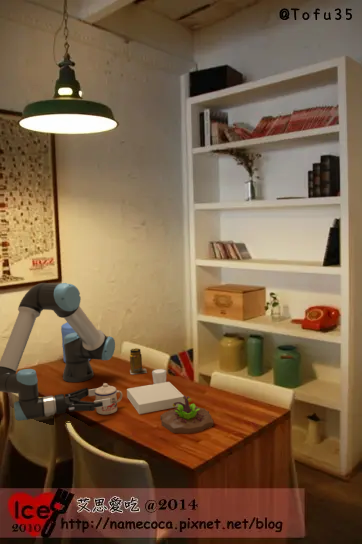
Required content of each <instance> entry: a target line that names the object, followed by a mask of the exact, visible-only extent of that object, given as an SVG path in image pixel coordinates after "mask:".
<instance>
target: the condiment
mask: <svg viewBox="0 0 362 544" xmlns="http://www.w3.org/2000/svg"><path fill="white" fill-rule="evenodd" d="M141 353H142V352H141V348H136V347H135V348H131V349H130V355H129V363H130V369H129V373H130V375H139V374H145V373H146V374H147V373H148V372H147V368H143V360H142V359H143V356H142V354H141Z"/></svg>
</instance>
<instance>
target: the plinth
mask: <svg viewBox="0 0 362 544" xmlns="http://www.w3.org/2000/svg"><path fill="white" fill-rule="evenodd" d="M183 396H185V395H184V394H182V392H180V390H178V389H177V388H176V387H175V386H174V385H173V384H172V383H171V382H170V381H166V382H164V383H158V384H154V383H153V384H148V385H141V386H135V387H130V388H127V389H126V397H127V399H128V400H129V402H130V403H131V404H132V406H133V407H134V409H135V410H136V412H137V413H138V414H139V415H144V414H148V413H152V412H157V411H163V410H167V409H173V408H174V409H175V408H177V407H178V404H176V406H175V407H174V406H173V403H175V402H181V403H183V404H185V399H183ZM180 405H181V404H180ZM178 408H179V407H178Z"/></svg>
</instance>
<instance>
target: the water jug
mask: <svg viewBox="0 0 362 544" xmlns="http://www.w3.org/2000/svg"><path fill="white" fill-rule="evenodd" d="M60 327H61V328H60V331H61V343H62V344H61V345H62V346H61V347H62V354H63V355H62V356H63V362H64V363H65V364H66V360H65V348H64V337H65V336H66V335H68V334H70V333H74V332H75V331H74V330H73V328H72V327H71V326H70V325H69V324H68V322H67V321H66V322H65V323H63V324H62V325H61V326H60ZM89 361H91V359H89Z"/></svg>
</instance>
